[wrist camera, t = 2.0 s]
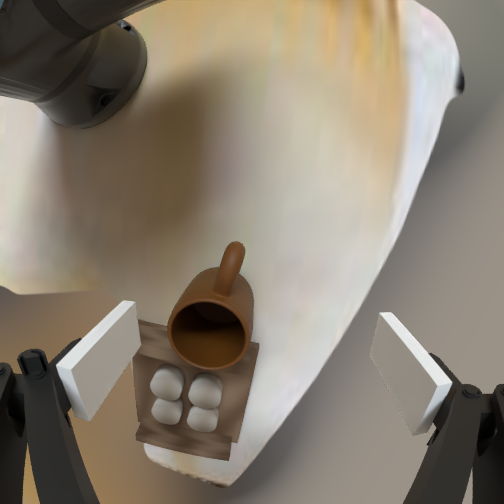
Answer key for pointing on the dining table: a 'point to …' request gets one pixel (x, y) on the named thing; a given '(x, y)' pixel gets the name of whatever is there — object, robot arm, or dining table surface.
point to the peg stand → (188, 398)
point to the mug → (214, 315)
